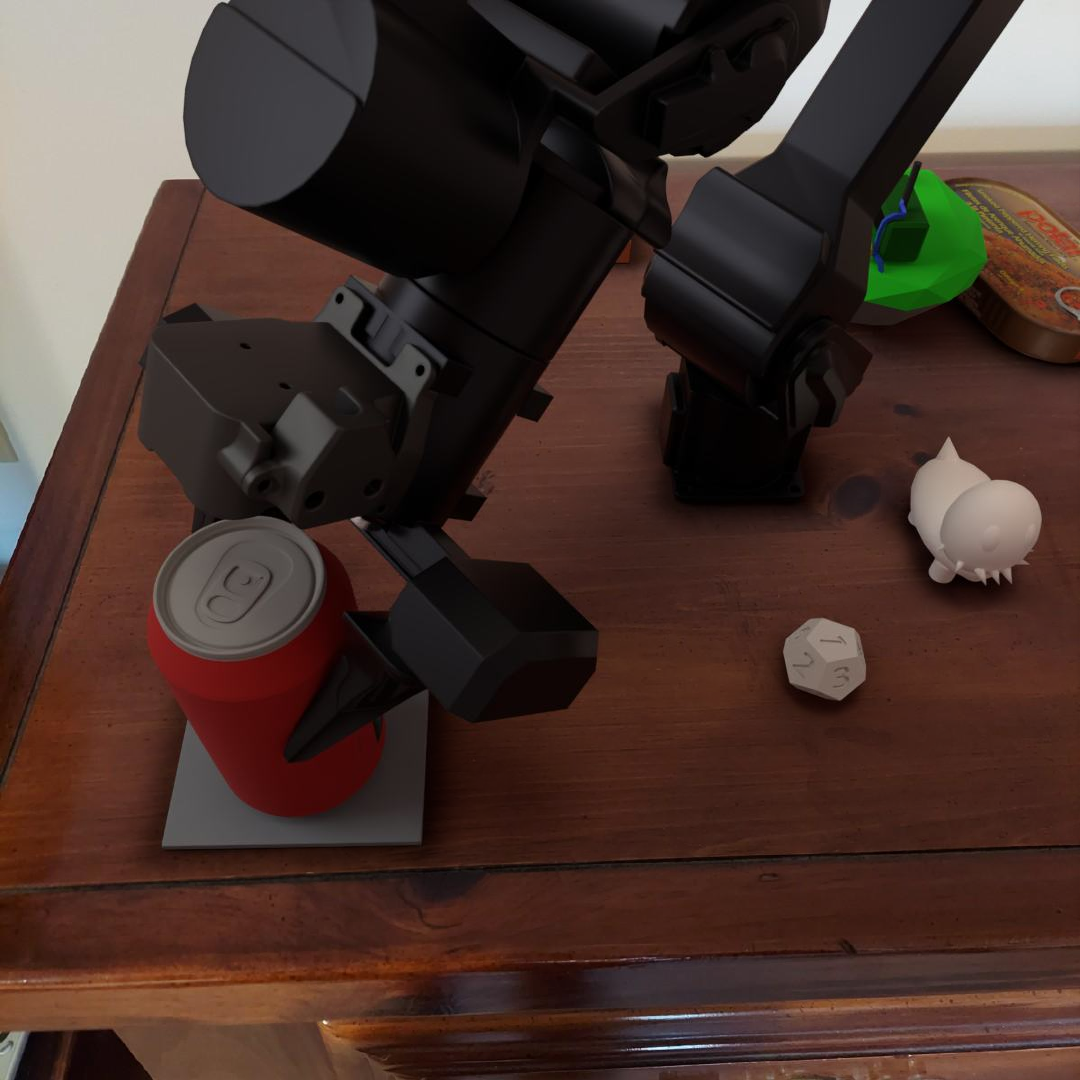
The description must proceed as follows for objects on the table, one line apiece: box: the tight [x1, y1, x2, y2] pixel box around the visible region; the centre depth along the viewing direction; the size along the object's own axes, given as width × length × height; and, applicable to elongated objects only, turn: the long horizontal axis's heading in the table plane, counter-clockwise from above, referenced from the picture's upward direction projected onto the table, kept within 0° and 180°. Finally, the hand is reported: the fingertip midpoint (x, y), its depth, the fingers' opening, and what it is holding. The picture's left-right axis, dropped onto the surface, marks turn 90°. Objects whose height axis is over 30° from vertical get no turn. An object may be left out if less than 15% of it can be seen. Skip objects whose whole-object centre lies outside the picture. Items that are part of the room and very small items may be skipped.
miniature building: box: [850, 160, 987, 326], centre depth 55 cm, size 12×12×11 cm
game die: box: [782, 617, 867, 701], centre depth 43 cm, size 4×4×3 cm
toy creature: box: [907, 436, 1043, 586], centre depth 46 cm, size 5×8×6 cm, turn 4°
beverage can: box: [146, 516, 386, 817], centre depth 37 cm, size 7×7×12 cm
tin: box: [942, 176, 1080, 364], centre depth 60 cm, size 15×3×8 cm
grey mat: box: [161, 689, 430, 851], centre depth 42 cm, size 10×8×1 cm
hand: (240, 688), depth 36 cm, fingers closed on beverage can, 7 cm apart
